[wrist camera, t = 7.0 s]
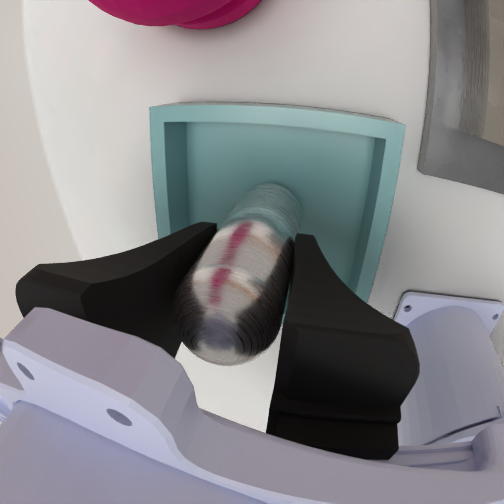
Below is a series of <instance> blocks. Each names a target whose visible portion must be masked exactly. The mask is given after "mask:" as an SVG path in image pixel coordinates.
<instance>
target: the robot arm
mask: <svg viewBox="0 0 504 504" xmlns="http://www.w3.org/2000/svg"><path fill="white" fill-rule="evenodd" d="M216 232H217V223H211V222H198V223H195V224H193V225H190V226H188V227H186V228H183V229H181V230H179V231H177V232H174V233H172V234H170V235H168V236H165V237H163V238H161V239H158V240H156V241H153V242H151V243H148V244H146V245H143V246H140V247H138V248H135V249H131V250H128V251H125V252H122V253H118V254H114V255H109V256H105V257H101V258H96V259H90V260H84V261H77V262H68V263H53V264H39V265H37V266H35V267H34V268H33V269H32V270H31V271H29V272H28V273H27V274H26V275H25V276H23V277H22V278H21V279H20V280H19V281H18V283H17V285H16V299H17V303H18V306H19V308H20V311H21V313H22V315H23V317H24V319H23V320H22V321H21V322H20V323H19V324H18V325H17V326H16V327H15V328H14V329H13V330H12V331H11V332H10V333H9V334H8V335H7V336H6V337H5V338H4V340H3V339H2V338H0V421H1V422H2V424H1V426H0V504H504V369H503V366H502V364H501V361H500V359H499V357H498V354H497V352H496V349H495V347H494V345H493V343H492V340H491V338H490V334H491V333H492V331H493V329H494V327H495V326H496V324H497V322H498V320H499V318H500V316H501V314H502V313H503V310H504V306H503V304H502V302H498V301H489V300H480V299H471V298H462V297H453V296H444V295H435V294H427V293H418V292H407V293H405V294H404V295H403V297H402V299H401V301H400V304H399V307H398V309H397V312H396V315H395V317H394V320H392V319H390V318H388V317H386V316H385V315H383V314H382V313H380V312H379V311H377V310H376V309H374V308H372V307H371V306H370V305H368V304H367V303H366V302H364V301H363V300H362V299H361V298H360V297H358V296H357V295H356V294H355V293H354V292H353V291H351V290H350V289H349V288H348V287H347V286H346V285H345V284H344V282H343V281H342V280H341V279H340V278H339V277H338V276H337V274H336V273H335V272H334V270H333V269H332V268H331V266H330V265H329V263H328V261H327V260H326V258H325V256H324V255H323V253H322V251H321V249H320V247H319V245H318V243H317V240H316V238H315V237H314V235H309V234H301V233H297V234H296V237H295V244H294V253H293V264H292V274H291V279H290V287H289V295H288V305H287V310H286V313H285V317H284V320H283V328H282V335H281V343H280V350H279V357H278V364H277V371H276V378H275V384H274V389H273V394H272V399H271V403H270V408H269V416H268V422H267V429H266V433H264V432H261V431H258V430H255V429H252V428H249V427H247V426H244V425H241V424H238V423H236V422H233V421H231V420H228V419H225V418H223V417H220V416H218V415H215V414H213V413H211V412H208V411H206V410H203V409H201V408H199V407H198V405H197V402H196V397H195V391H194V386H193V384H192V383H191V381H190V379H189V377H188V375H187V374H186V372H185V370H184V368H183V366H182V365H181V364H180V363H179V362H178V361H176V360H175V356H176V354H177V351H178V349H179V346H180V344H181V342H182V340H181V339H180V337H179V335H178V333H177V331H176V328H175V324H174V319H173V302H174V298H175V294H176V291H177V289H178V287H179V285H180V283H181V282H182V280H183V279H184V277H185V276H186V274H187V273H188V271H189V270H190V269H191V267H192V266H193V264H194V263H195V261H196V260H197V259H198V257H199V256H200V254H201V253H202V251H203V250H204V249H205V247H206V246H207V244H208V243H209V242H210V240H211V239H212V237H213V236H214V235H215V233H216ZM407 305H410V307H408V308H404V307H405V306H407Z"/></svg>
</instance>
